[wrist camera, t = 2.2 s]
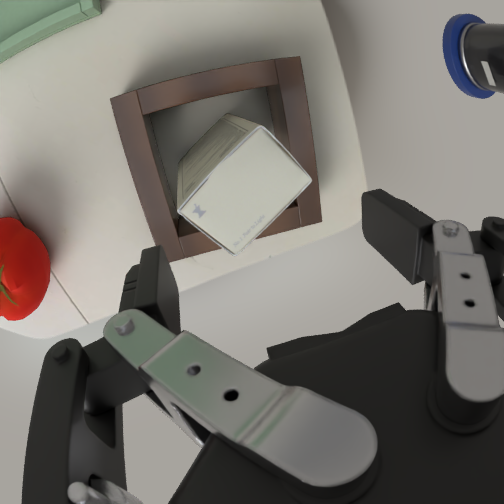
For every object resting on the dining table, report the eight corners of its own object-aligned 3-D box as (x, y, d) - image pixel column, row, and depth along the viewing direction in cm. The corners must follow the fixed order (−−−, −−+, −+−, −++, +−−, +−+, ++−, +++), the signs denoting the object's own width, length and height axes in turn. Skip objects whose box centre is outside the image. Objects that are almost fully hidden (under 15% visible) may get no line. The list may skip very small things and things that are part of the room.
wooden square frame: (284, 59, 24) (300, 56, 20) (306, 205, 31) (322, 222, 27) (119, 97, 22) (109, 98, 19) (164, 242, 30) (162, 264, 26)
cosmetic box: (212, 193, 28) (233, 263, 18) (175, 161, 26) (171, 214, 16) (263, 143, 27) (317, 183, 17) (227, 108, 25) (261, 122, 14)
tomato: (61, 291, 29) (41, 340, 23) (-5, 281, 27) (-33, 324, 21) (55, 209, 25) (24, 246, 19) (-17, 202, 23) (-56, 236, 16)
